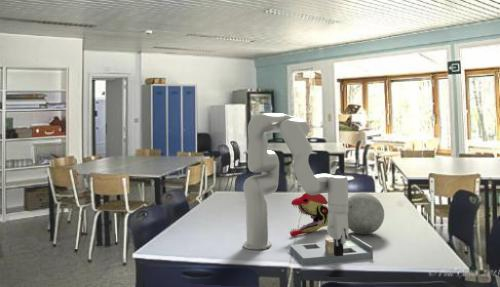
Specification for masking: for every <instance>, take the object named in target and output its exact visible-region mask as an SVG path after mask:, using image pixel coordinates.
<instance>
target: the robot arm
mask: <svg viewBox="0 0 500 287" xmlns="http://www.w3.org/2000/svg"><path fill="white" fill-rule="evenodd" d="M268 133H274V134H276V133H280V135H281V137H282V139H283V141H284V142H285V145H286V146H287V148H288V150H289V152H290V153H291V155H292V157H293V168H294V169H293V170H294V173H295V174H294V175H295V178H296V179H297V181H298V183H299V184H300V187H301V188H302V190H304V192H305V193H307V194H309V195H317V194H321V195H322V194H325V193H327V202H328V204H327V207H328V225H327V226H326V227H327V228H326V229H327V235H328V236H329V237H330V238H333V244H334V255H335V256H343V246H344V244H345V243H346V240H348V239H349V228H348V217H347V213H348V198H349V180H348V177H347V176H344V175H333V174H329V173H318V174H314V172H313V170H312V168H311V165H310V163H309V157H310V155H311V154H312V152H313V146H312V144H311V143H310V140H308V138H307V136H308V135H309V133H310V126H309V123H308V121H306V120H305V119H303V118H301V117H295V116H291V115H290V114H285V113H277V112H263V113H258V114H256V115H254V116H253V117H251V119H250V120H249V122H248V126H247V134H248V135H247V137H248V142H247V143H248V147H247V168H248V170H249V172H252V173H253V174H255V173H261V174H257V175H256V174H255V175H251V176H250V177H247V178H246V179H245V180H244V183H243V186H242V188H243V195H244V197H245V198H244V199H245V215H246V217H245V218H246V222H245V223H246V224H245V225H246V226H245V227H246V241H244V242H243V247H244V248H246V249H249V250H251V251H253V250H254V251H257V250H258V251H260V250H266V249H269V248H271V247H272V241H269V226H268V204H267V201H266V198H265V196H268V195H272V194H274V193H276V191H277V189H278V186H279V176H280V160H279V157H278V155H277V153H276V152H275V151H273V150H269V149H268V145H269V144H268V138H267V135H266V134H268Z"/></svg>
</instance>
